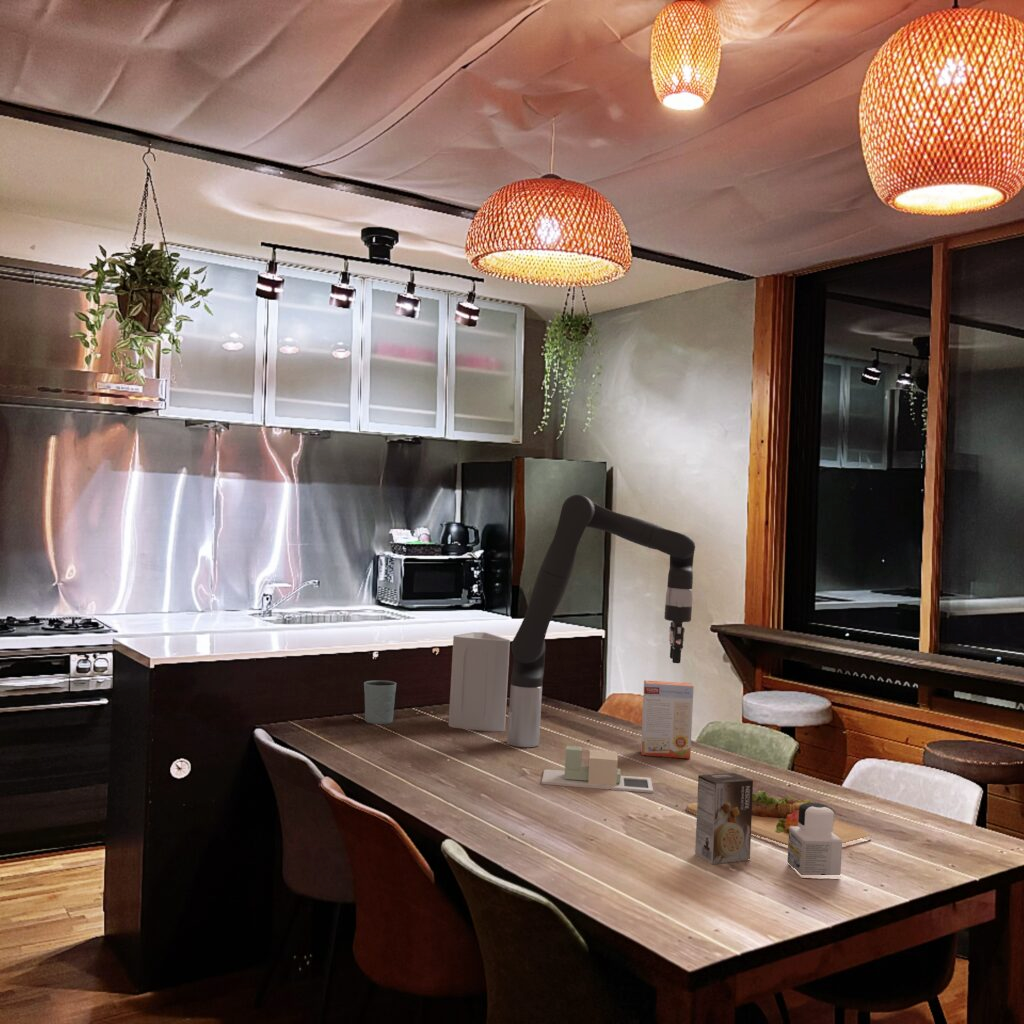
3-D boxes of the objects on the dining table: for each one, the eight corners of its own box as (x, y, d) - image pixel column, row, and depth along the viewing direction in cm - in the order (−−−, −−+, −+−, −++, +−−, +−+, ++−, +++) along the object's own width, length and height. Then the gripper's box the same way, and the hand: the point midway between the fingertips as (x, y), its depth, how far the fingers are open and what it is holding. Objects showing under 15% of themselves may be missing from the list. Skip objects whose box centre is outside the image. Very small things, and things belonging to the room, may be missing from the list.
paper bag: (438, 719, 307) (443, 632, 307) (480, 717, 314) (485, 632, 314) (461, 733, 290) (466, 640, 290) (505, 730, 296) (510, 640, 297)
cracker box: (688, 754, 279) (692, 682, 279) (690, 759, 273) (694, 686, 273) (640, 750, 280) (643, 679, 280) (640, 755, 274) (644, 682, 274)
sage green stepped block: (564, 778, 241) (565, 750, 241) (565, 772, 247) (566, 744, 247) (620, 783, 240) (621, 754, 240) (619, 777, 246) (621, 749, 246)
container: (786, 864, 190) (790, 799, 190) (824, 865, 191) (827, 800, 191) (801, 879, 182) (805, 811, 182) (841, 880, 183) (844, 812, 183)
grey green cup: (391, 725, 295) (394, 686, 296) (359, 723, 296) (361, 684, 296) (396, 718, 306) (398, 680, 306) (364, 716, 306) (366, 679, 306)
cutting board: (874, 842, 209) (876, 807, 209) (808, 860, 195) (810, 823, 196) (747, 799, 237) (749, 769, 238) (681, 812, 224) (683, 780, 224)
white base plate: (541, 783, 239) (543, 755, 239) (544, 771, 251) (545, 744, 251) (653, 793, 236) (654, 764, 236) (650, 780, 248) (652, 753, 248)
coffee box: (731, 850, 197) (735, 771, 197) (750, 861, 191) (755, 780, 191) (693, 854, 193) (697, 774, 193) (712, 865, 187) (716, 783, 187)
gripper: (663, 601, 281) (659, 656, 281) (667, 605, 267) (663, 663, 267) (689, 603, 281) (685, 658, 281) (694, 607, 266) (690, 665, 266)
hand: (674, 660), depth 274 cm, fingers open, 8 cm apart
